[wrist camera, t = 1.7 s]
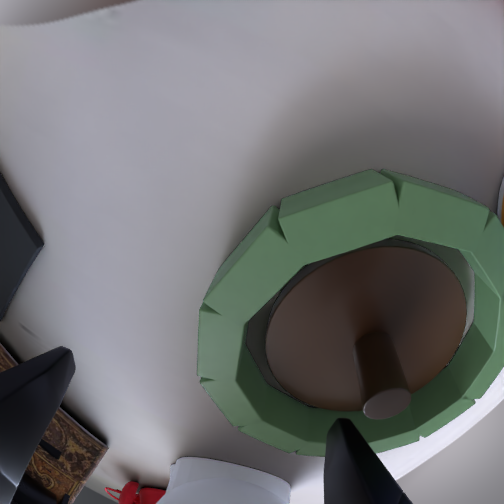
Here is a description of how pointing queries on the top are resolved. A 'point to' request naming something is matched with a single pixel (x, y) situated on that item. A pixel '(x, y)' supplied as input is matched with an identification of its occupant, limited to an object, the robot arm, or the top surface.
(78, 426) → the book
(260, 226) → the ring
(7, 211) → the mat
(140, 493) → the alarm clock
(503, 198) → the pill bottle
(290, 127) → the top surface
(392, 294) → the ring stand
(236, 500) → the figurine
